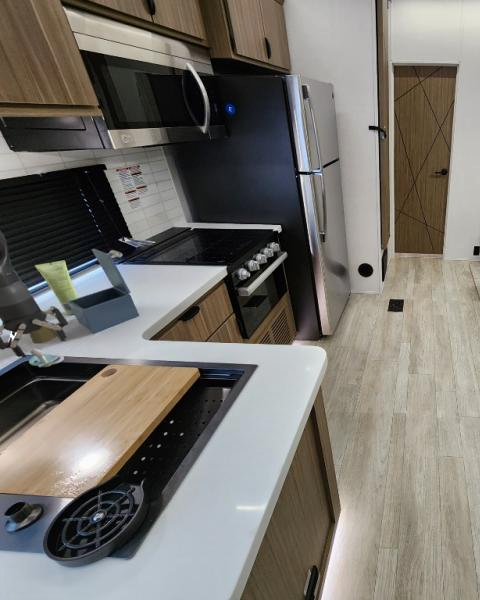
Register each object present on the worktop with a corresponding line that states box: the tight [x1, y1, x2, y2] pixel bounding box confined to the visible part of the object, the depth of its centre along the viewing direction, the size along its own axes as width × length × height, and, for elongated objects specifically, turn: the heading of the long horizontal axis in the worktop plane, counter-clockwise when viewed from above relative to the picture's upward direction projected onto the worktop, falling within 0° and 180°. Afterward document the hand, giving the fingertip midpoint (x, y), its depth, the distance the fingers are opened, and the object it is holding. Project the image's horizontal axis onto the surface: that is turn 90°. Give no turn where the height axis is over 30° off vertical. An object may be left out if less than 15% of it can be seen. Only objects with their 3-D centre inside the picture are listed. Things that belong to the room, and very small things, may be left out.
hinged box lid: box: [91, 248, 131, 294], centre depth 117 cm, size 14×13×5 cm
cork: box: [28, 319, 58, 344], centre depth 106 cm, size 6×6×11 cm
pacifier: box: [28, 347, 65, 368], centre depth 95 cm, size 7×6×6 cm
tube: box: [34, 260, 79, 315], centre depth 119 cm, size 6×5×20 cm
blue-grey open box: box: [67, 286, 140, 335], centre depth 116 cm, size 14×13×9 cm
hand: (43, 348), depth 95 cm, fingers open, 8 cm apart
